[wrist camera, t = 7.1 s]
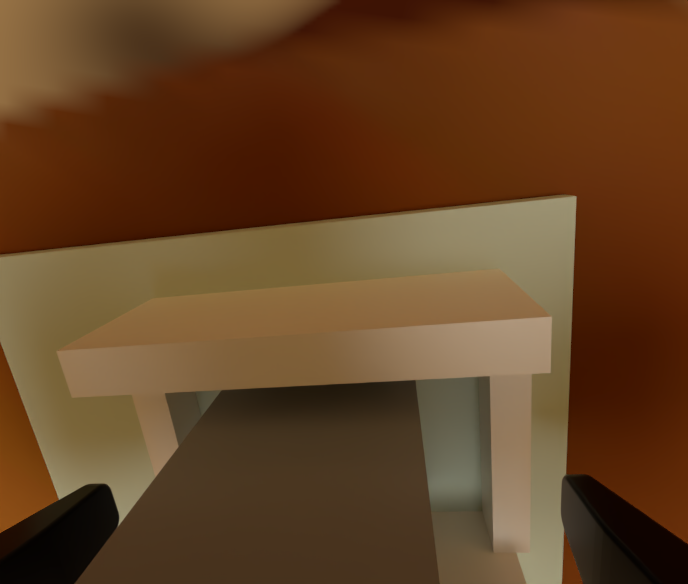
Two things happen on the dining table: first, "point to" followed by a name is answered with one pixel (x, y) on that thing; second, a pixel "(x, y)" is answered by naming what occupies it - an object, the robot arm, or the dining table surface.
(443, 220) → the board
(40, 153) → the dining table surface
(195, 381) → the holder
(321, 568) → the block
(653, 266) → the dining table surface
